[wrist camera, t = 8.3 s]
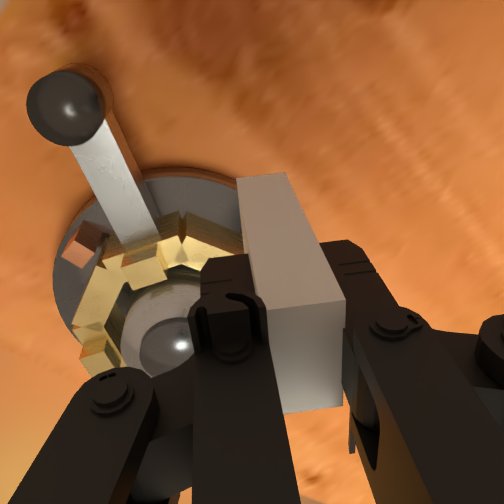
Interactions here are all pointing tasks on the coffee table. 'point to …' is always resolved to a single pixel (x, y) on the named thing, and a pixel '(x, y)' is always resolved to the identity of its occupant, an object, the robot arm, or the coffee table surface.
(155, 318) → the housing
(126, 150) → the ball lever
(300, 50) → the coffee table surface
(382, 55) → the coffee table surface
